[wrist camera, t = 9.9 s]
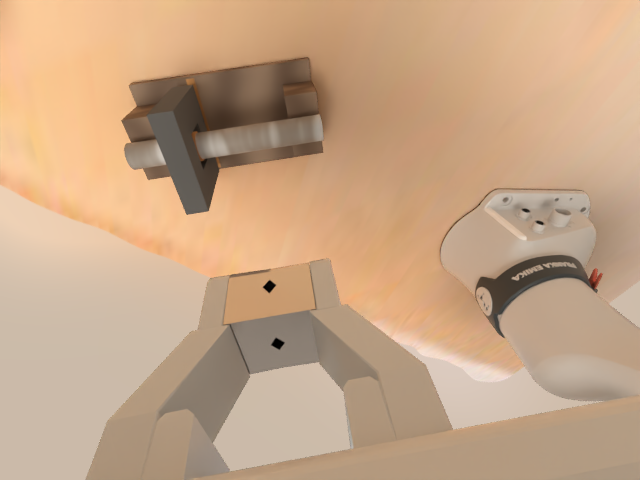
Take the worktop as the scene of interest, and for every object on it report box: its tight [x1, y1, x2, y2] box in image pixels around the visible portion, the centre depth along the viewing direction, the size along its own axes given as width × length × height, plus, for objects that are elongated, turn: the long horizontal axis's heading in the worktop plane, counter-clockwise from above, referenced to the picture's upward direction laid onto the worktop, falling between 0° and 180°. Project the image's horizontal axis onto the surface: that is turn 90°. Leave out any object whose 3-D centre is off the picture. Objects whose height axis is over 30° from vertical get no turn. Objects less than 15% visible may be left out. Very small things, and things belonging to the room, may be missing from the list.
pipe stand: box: [121, 58, 324, 180], centre depth 35 cm, size 18×10×8 cm, turn 96°
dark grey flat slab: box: [147, 85, 219, 215], centre depth 32 cm, size 2×9×9 cm, turn 6°
